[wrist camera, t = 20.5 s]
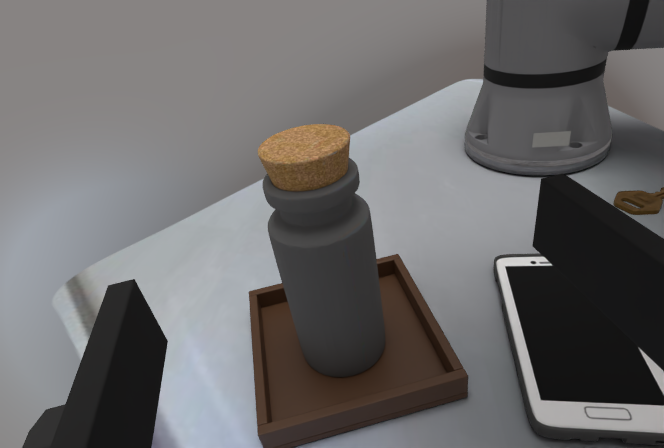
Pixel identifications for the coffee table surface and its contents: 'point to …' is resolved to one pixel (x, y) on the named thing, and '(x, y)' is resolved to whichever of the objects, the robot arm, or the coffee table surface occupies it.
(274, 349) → the tray
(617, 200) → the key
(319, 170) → the bottle
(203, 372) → the coffee table surface
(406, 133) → the coffee table surface
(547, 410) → the cell phone
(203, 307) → the coffee table surface
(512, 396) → the coffee table surface
